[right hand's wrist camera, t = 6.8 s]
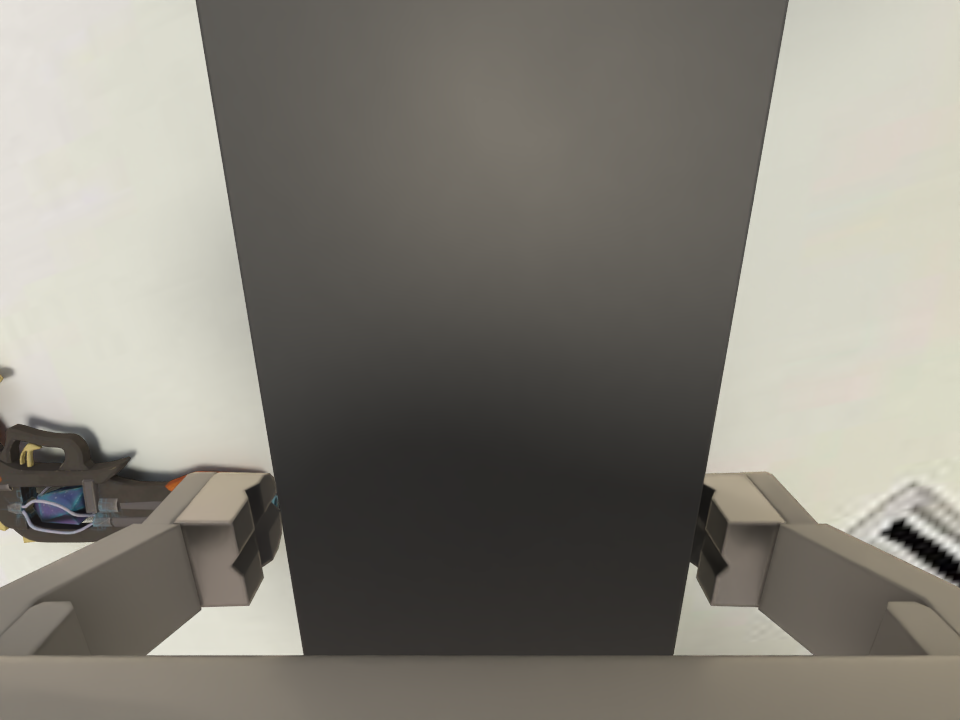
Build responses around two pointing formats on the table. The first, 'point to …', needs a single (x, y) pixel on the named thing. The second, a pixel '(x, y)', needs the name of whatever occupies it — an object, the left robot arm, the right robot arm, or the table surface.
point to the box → (490, 302)
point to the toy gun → (70, 490)
